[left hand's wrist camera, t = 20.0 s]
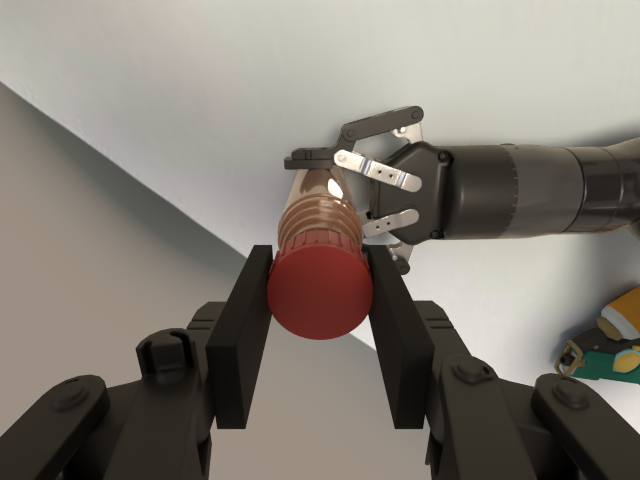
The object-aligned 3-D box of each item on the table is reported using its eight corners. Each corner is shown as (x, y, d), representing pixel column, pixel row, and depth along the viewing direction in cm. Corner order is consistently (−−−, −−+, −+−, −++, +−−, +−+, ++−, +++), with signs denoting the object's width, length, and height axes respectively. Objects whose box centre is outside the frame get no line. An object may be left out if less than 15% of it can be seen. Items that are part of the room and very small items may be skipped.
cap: (351, 326, 16) (354, 351, 14) (261, 303, 15) (253, 327, 13) (383, 244, 14) (391, 261, 12) (284, 216, 14) (279, 231, 12)
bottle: (346, 157, 33) (387, 234, 13) (341, 204, 35) (372, 339, 14) (297, 154, 33) (259, 227, 13) (295, 201, 35) (260, 333, 14)
